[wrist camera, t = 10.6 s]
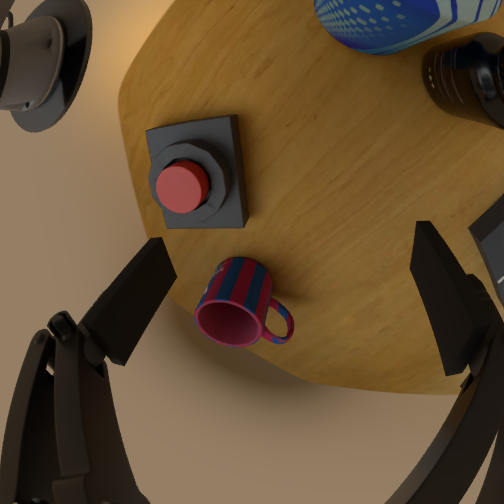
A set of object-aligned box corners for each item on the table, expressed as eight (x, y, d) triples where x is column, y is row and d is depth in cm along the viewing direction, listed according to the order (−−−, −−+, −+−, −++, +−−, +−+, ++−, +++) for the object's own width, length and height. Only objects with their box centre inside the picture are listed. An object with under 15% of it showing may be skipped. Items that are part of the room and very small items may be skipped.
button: (161, 163, 21) (151, 169, 20) (205, 157, 20) (196, 163, 19) (171, 206, 23) (161, 214, 22) (212, 204, 22) (205, 213, 21)
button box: (157, 126, 23) (133, 134, 20) (237, 114, 21) (223, 117, 18) (176, 219, 28) (158, 237, 25) (249, 217, 26) (239, 238, 23)
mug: (230, 245, 28) (209, 287, 23) (309, 291, 30) (305, 338, 24) (206, 284, 32) (185, 326, 27) (277, 323, 33) (268, 367, 28)
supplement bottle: (470, 48, 12) (556, 42, 2) (484, 116, 15) (571, 150, 5) (409, 42, 14) (484, 13, 4) (426, 116, 17) (510, 145, 7)
